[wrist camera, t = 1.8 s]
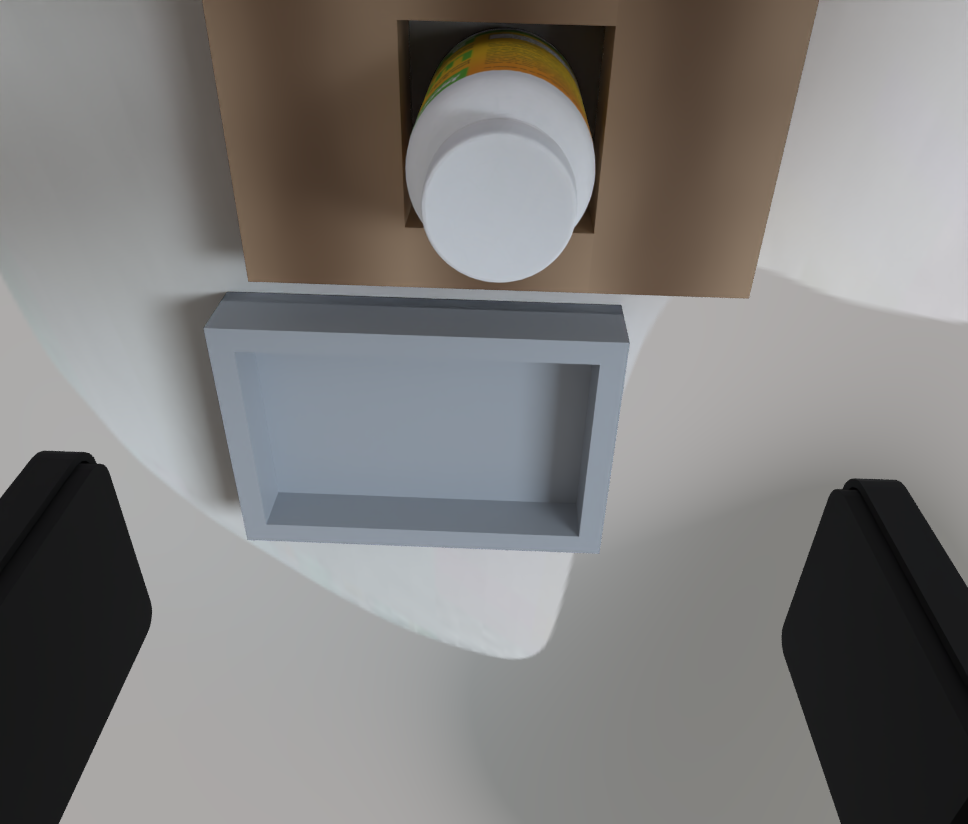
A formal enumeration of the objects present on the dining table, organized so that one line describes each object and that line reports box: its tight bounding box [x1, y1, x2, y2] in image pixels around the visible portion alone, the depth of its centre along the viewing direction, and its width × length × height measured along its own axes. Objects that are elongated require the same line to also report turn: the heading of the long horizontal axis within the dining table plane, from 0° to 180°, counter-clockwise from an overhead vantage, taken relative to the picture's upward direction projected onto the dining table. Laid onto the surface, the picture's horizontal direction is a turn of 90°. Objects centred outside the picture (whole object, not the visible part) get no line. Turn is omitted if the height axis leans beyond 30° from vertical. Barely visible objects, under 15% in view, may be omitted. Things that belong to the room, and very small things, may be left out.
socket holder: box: [202, 0, 819, 298], centre depth 27 cm, size 18×11×3 cm, turn 89°
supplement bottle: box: [405, 28, 595, 283], centre depth 24 cm, size 5×5×10 cm
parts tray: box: [204, 292, 630, 554], centre depth 34 cm, size 16×11×3 cm
